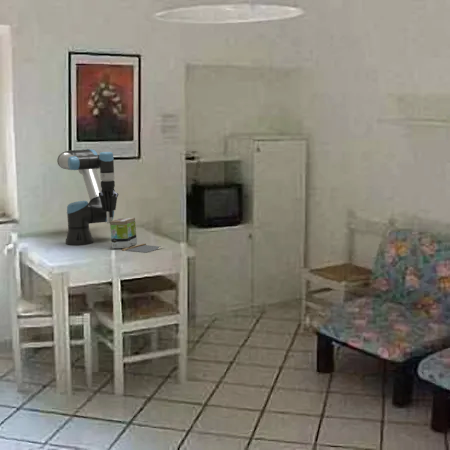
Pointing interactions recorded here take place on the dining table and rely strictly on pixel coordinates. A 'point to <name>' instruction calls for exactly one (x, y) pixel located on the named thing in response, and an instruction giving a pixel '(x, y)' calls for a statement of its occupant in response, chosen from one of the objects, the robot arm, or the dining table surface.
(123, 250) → the oak strip
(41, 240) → the dining table surface
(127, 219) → the tea box
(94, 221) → the robot arm
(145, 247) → the mat
